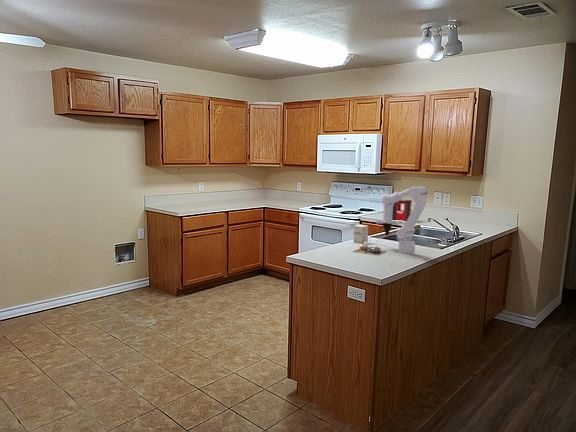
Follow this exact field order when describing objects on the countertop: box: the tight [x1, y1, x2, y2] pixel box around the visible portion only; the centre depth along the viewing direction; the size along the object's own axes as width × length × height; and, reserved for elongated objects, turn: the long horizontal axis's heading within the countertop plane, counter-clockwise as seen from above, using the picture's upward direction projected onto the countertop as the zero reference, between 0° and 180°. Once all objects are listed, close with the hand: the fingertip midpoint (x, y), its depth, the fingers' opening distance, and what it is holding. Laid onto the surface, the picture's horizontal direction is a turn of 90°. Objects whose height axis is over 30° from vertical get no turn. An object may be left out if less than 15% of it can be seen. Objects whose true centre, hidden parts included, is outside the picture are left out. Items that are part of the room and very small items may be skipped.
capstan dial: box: [359, 242, 382, 253], centre depth 274 cm, size 14×7×5 cm, turn 50°
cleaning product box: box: [392, 199, 413, 221], centre depth 406 cm, size 16×9×20 cm, turn 65°
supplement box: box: [353, 224, 369, 245], centre depth 305 cm, size 7×7×13 cm
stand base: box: [352, 248, 389, 257], centre depth 274 cm, size 18×15×1 cm
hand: (387, 235), depth 286 cm, fingers closed
